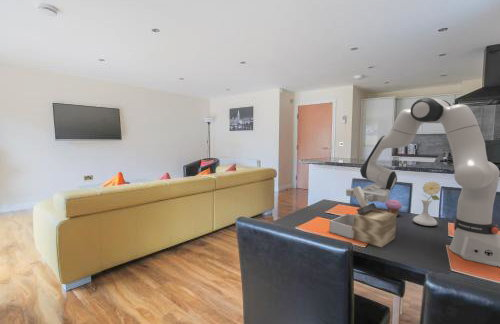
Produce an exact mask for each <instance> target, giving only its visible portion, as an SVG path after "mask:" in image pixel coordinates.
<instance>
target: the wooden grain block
mask: <svg viewBox="0 0 500 324" xmlns="http://www.w3.org/2000/svg"><path fill="white" fill-rule="evenodd" d="M353 215H354V230H353V238H352V239H354V240H355V241H359V242H363V243H366V244H369V245H373V246H376V247H379V248H383V247H384V246H386V245H388V243H390V242H391V241H393V240H394V239H396V229H397V228H396V227H397V216H396V214H394V213H389V212H388V211H384V210H379V209H376V208H374V209H372V210H369V211H367V212H365V213H362V214H359V213H358V212H356V213H354V214H353Z"/></svg>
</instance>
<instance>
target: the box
mask: <svg viewBox="0 0 500 324" xmlns="http://www.w3.org/2000/svg"><path fill="white" fill-rule="evenodd" d="M351 224H353V225H354V214H351V213H350V214H349V213H347V214H344V215H341V216H339V217H336V218H334V219H331V220H329V233H331V234H334V235H338V236H341V237H344V238H347V239H350V240H352V239H353V230H352V228H353V227H352V226H348V225H351Z"/></svg>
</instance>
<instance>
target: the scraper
mask: <svg viewBox="0 0 500 324" xmlns="http://www.w3.org/2000/svg"><path fill="white" fill-rule="evenodd" d="M352 188H353V189H352V190H353V192H354V194H355V196H356V198H355V199H356V200H357V202H358V204H359V206H360V207H359V208H357V209H356V211H357V213H359V214H362V213H365V212H367V211H369V210H372V209H376V208H377V206H376V204H375V202H371V203H369V201H367V200H365V199H364V196H365V195H364V193H363V191H362V189H363V188H362V187H361V186H360V185H359V186H355V187H352Z"/></svg>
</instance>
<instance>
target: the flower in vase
mask: <svg viewBox="0 0 500 324" xmlns="http://www.w3.org/2000/svg"><path fill="white" fill-rule="evenodd" d="M441 189H442V188H441V184H439V183H438V182H436V181H434V180H433V181H428V182H425V183H424V184H423V185H422V191H423V193H425V194H423V193H421V195H422V196H423V197H426V198H427V199H426V198H425V199H424V198H422V199H420V201H421V203H422V206H423V209H422V212H421V213H420V214H418V215H415V216H414V217H412V221H413V222H414V223H415V224H418V225H421V226H426V227H428V226H429V227H433V226H436V225H438V222H437V220H436V219H435V218H434V217H433V216H432V215H430V214H429V207H430V204H431V203H432V201H439V200H440V197H439V196H437V194H439V192H440V191H441ZM426 194H427V195H429V197H428V196H427V195H426ZM431 199H432V200H431Z"/></svg>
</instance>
